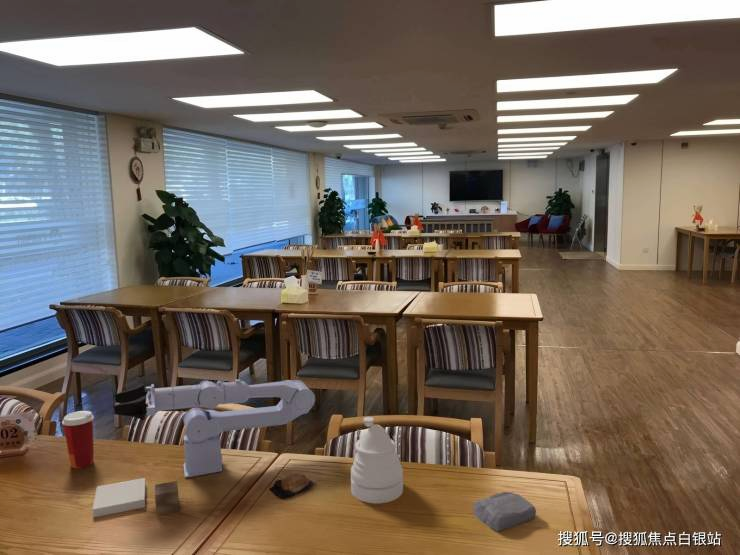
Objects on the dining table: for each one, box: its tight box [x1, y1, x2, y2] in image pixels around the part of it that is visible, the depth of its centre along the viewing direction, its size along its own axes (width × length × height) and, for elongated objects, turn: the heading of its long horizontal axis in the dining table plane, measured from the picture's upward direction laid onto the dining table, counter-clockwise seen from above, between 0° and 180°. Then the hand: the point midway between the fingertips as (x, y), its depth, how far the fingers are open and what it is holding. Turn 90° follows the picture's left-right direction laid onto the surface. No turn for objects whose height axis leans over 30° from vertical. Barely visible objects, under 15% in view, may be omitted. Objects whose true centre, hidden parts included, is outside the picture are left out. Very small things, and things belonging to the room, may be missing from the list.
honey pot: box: [350, 416, 404, 504], centre depth 136 cm, size 13×13×18 cm
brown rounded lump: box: [268, 472, 318, 501], centre depth 139 cm, size 11×8×4 cm
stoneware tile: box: [92, 477, 146, 518], centre depth 134 cm, size 11×11×2 cm
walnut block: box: [154, 480, 180, 516], centre depth 131 cm, size 5×5×5 cm
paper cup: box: [61, 410, 95, 469], centre depth 152 cm, size 8×8×14 cm
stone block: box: [473, 491, 537, 533], centre depth 125 cm, size 12×5×10 cm
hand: (114, 403), depth 139 cm, fingers open, 7 cm apart
